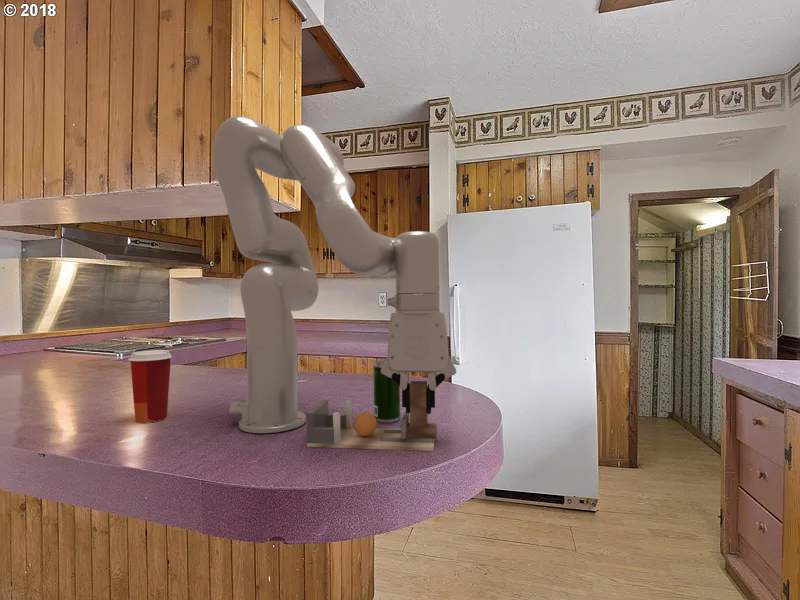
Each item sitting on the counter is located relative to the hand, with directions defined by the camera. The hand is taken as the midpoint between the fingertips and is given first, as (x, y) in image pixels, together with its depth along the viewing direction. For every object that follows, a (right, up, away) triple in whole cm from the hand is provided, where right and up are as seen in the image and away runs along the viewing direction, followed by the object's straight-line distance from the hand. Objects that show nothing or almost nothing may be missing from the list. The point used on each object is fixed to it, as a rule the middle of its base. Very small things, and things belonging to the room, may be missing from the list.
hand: (418, 410), depth 70 cm
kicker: (0, -4, 0) cm, 4 cm away
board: (-8, -5, +1) cm, 9 cm away
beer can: (-6, -5, +13) cm, 15 cm away
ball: (-9, -3, +1) cm, 10 cm away
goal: (-15, -5, +2) cm, 16 cm away
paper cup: (-55, -6, +15) cm, 57 cm away
